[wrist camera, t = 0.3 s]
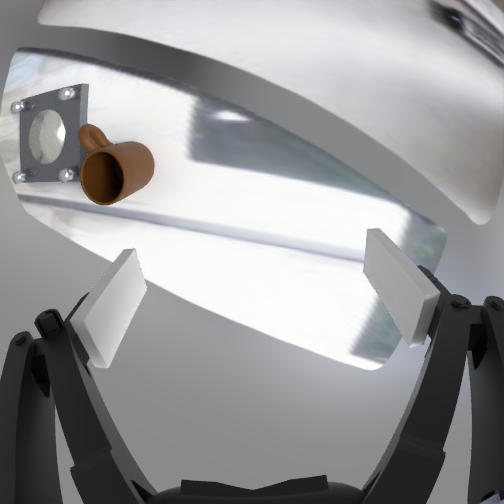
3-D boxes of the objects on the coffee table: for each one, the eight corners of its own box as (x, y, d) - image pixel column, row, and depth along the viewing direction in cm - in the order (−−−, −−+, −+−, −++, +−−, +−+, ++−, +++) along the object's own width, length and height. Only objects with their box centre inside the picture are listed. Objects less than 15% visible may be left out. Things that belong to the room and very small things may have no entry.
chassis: (27, 99, 35) (9, 101, 30) (88, 84, 34) (70, 82, 30) (28, 179, 42) (11, 186, 37) (87, 178, 41) (70, 185, 37)
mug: (93, 137, 38) (57, 144, 30) (127, 108, 36) (92, 108, 28) (129, 197, 42) (97, 217, 34) (165, 173, 40) (137, 187, 32)
